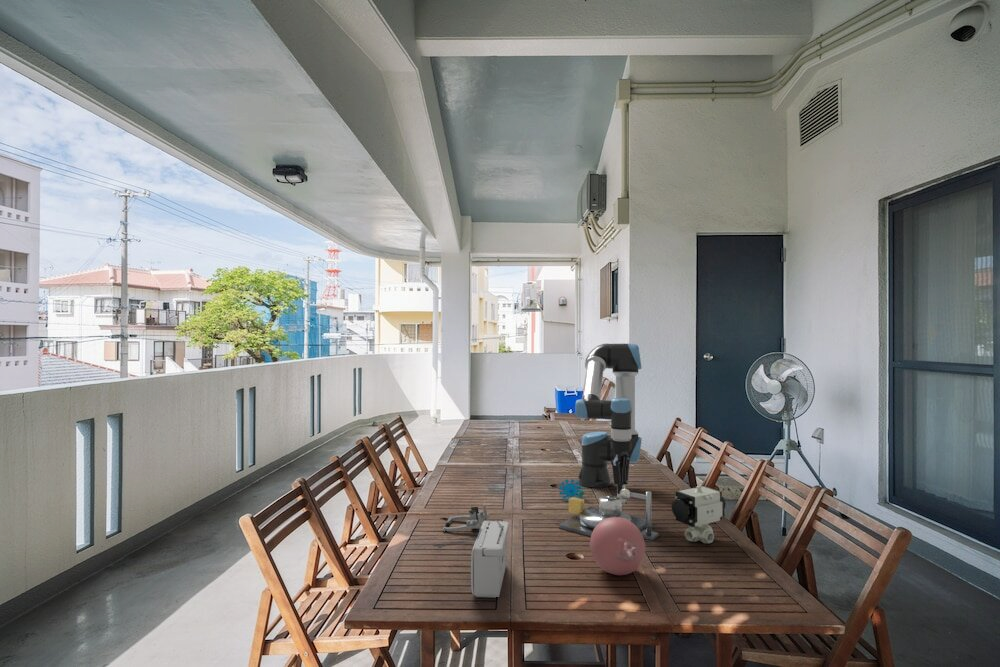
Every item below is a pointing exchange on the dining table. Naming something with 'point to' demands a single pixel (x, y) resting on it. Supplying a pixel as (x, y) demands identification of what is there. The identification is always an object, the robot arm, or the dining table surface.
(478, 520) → the bike brake
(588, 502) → the dining table surface
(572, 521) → the turntable base
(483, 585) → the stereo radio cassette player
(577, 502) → the turntable
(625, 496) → the dial gauge
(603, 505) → the cover
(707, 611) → the dining table surface
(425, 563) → the dining table surface
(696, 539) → the ball valve
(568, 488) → the blue virus model
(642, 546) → the balloon
